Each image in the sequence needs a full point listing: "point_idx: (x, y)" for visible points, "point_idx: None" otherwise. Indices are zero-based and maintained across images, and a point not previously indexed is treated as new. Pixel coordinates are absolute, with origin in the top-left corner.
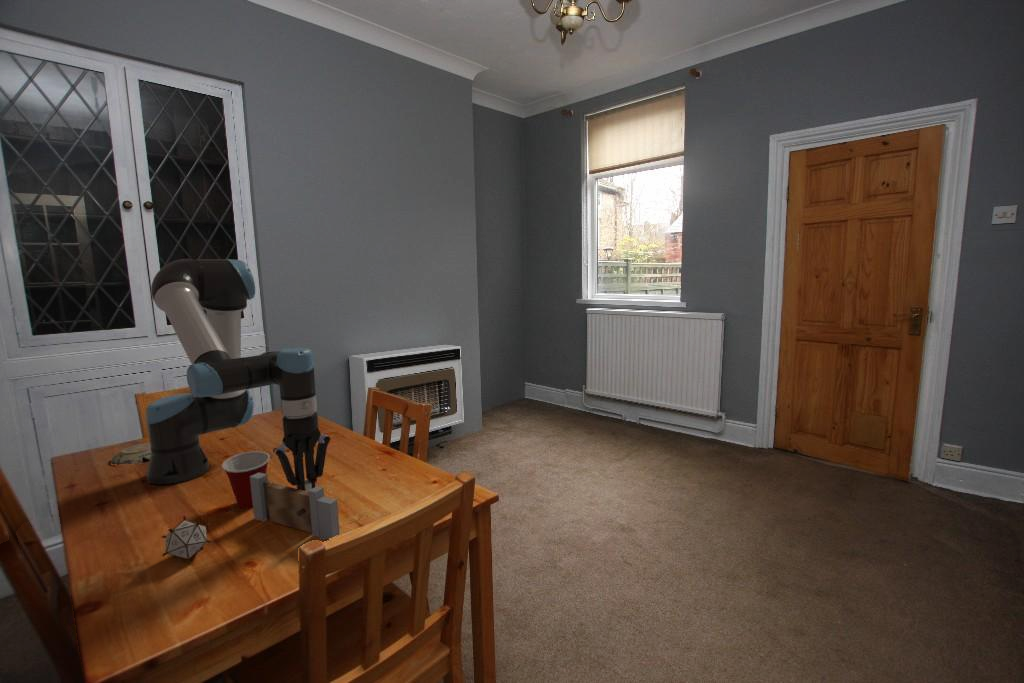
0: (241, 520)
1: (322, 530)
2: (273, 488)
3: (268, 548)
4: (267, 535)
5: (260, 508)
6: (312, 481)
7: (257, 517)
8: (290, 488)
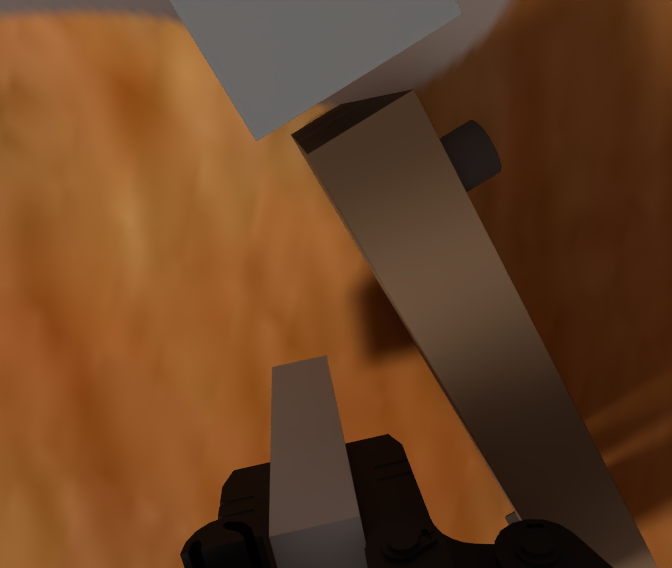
0: None
1: None
2: None
3: (634, 112)
4: (589, 294)
5: None
6: (256, 533)
7: None
8: (553, 512)
